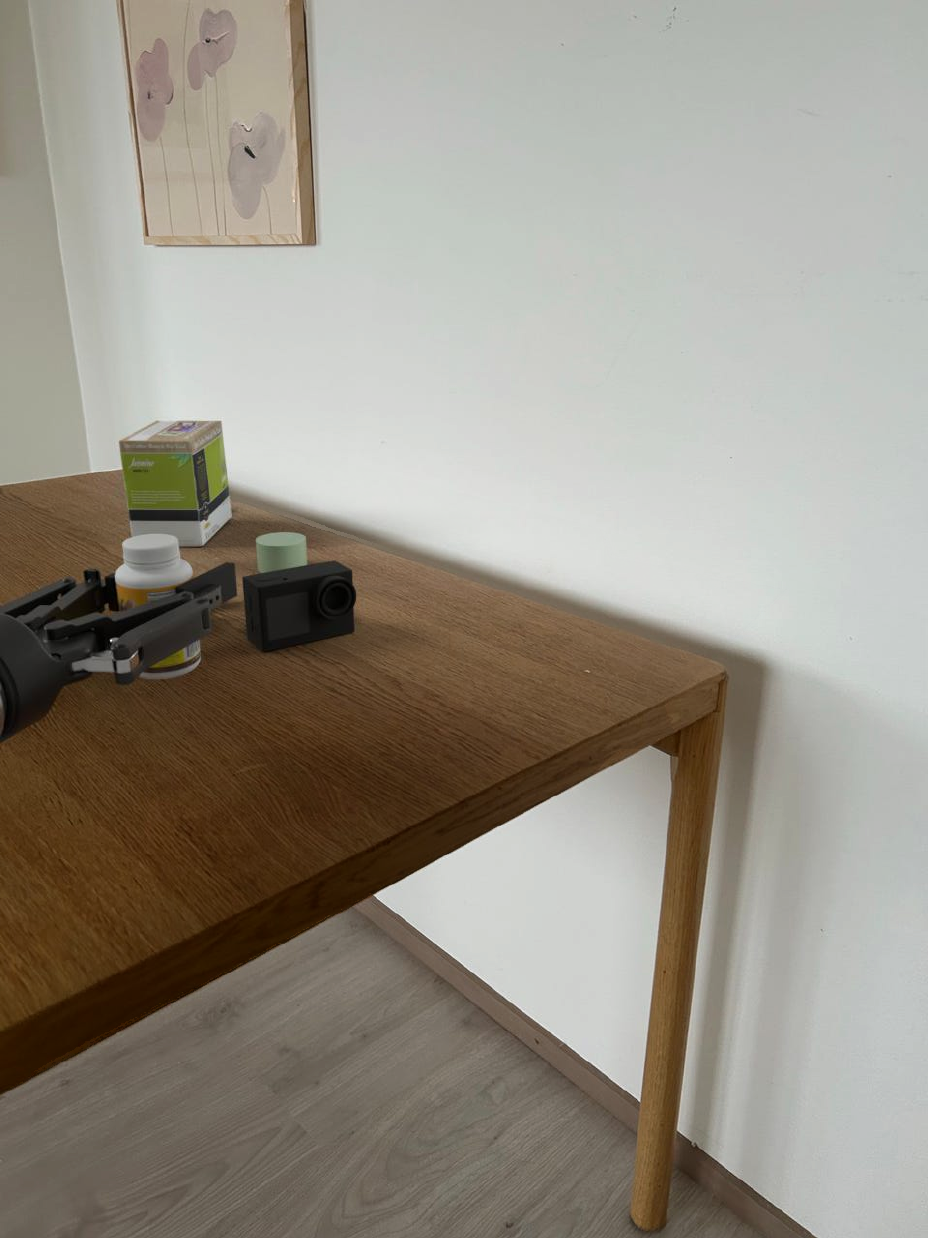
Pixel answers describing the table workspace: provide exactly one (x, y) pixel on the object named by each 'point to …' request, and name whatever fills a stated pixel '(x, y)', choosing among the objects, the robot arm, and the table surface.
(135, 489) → the tea box
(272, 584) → the digital camera
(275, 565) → the pale green cylinder
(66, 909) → the table surface
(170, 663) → the supplement bottle
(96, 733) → the table surface
